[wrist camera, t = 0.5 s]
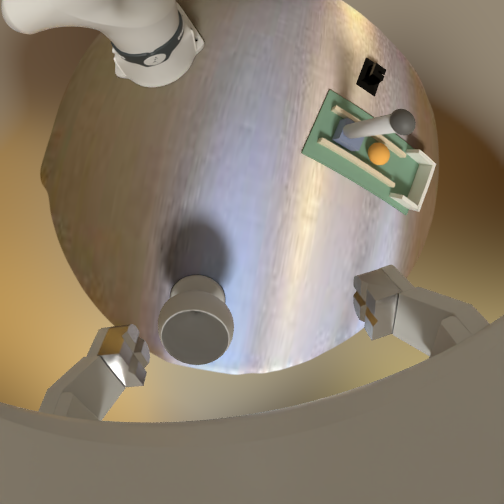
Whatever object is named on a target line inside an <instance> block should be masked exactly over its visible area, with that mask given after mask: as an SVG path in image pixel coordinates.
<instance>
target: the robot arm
mask: <svg viewBox="0 0 504 504" xmlns="http://www.w3.org/2000/svg"><path fill="white" fill-rule="evenodd" d="M1 7H2V8H1V9H2V15H3V18H4V20H5V22H6V23H7V24H8V25H9V26H10V27H11V28H12V29H13V30H15V31H17V32H21V33H25V34H33V33H37V32H40V31H43V30H46V29H50V28H56V27H64V26H77V27H78V26H79V27H87V28H92V29H96V30H99V31H101V32H102V33H103V34H105V35H106V36H107V37H108V38H109V39H110V40H111V44H112V46H113V48H112V51H113V53H115V57H114V61H115V73H116V75H117V76H118V77H121V78H128V79H130V80H132V81H134V82H135V83H137V84H139V85H141V86H145V87H159V86H163V85H167V84H169V83H171V82H173V81H175V80H177V79H178V78H180V77H181V76H182V75H183V74H184V73H185V72H186V71H187V70H188V69H189V67H190V66H191V64H192V61H193V59H194V57H195V55H196V54H197V53H198V52H199V51H200V50H201V49H202V48H203V47H204V41H203V40H202V38H201V36H200V35H199V33H198V32H197V30H196V29H195V27H194V26H193V24H192V23H191V21H190V20H189V18H188V17H187V15H186V14H185V12H184V11H183V9H182V8H181V6H180V5H179V4H178V3H177V2H176V0H2V5H1ZM195 40H198V41H195ZM354 287H355V289H356V290H357V291H356V293H355V294H354V296H353V297H354V307H355V311H356V314H357V316H358V318H359V320H361V321H363V322H365V327H364V328H365V330H366V332H367V333H368V335H369V337H370V338H371V340H374V339H377V338H381V337H384V336H387V335H389V334H393V335H394V336H396V337H398V338H399V339H401V340H403V341H405V342H406V343H408V344H410V345H411V346H413V347H415V348H416V349H418V350H420V351H422V352H423V353H425V354H427V355H428V356H430V357H429V359H427V360H425V361H423V362H421V363H418V364H416V365H414V366H412V367H410V368H407V369H405V370H403V371H400V372H398V373H395V374H393V375H390V376H388V377H385V378H383V379H380V380H378V381H375V382H372V383H369V384H367V385H364V386H361V387H358V388H355V389H352V390H349V391H346V392H343V393H340V394H336V395H333V396H329V397H326V398H323V399H319V400H315V401H311V402H308V403H304V404H300V405H295V406H291V407H286V408H282V409H277V410H272V411H267V412H261V413H255V414H249V415H243V416H236V417H229V418H220V419H211V420H200V421H186V422H165V423H164V422H163V423H162V422H160V423H136V422H112V421H101V420H102V419H103V418H104V416H105V415H106V413H107V412H108V411H109V409H110V408H111V407H112V405H113V404H114V403H115V401H116V400H117V399H118V397H119V396H120V395H121V393H122V392H123V391H124V389H125V387H134V386H144V381H145V377H146V371H145V369H144V368H145V367H146V366H147V365H148V363H149V359H150V354H149V348H148V346H147V344H146V342H145V340H143V339H142V338H140V337H138V336H139V331H138V329H137V328H136V326H135V325H132V324H130V325H122V326H114V327H107V328H101V329H100V330H99V331H98V333H97V335H96V337H95V339H94V341H93V343H92V345H91V348H90V350H89V352H88V355H87V357H83V358H82V359H81V360H80V361H79V362H78V363H76V364H75V365H74V366H73V367H72V368H71V369H70V370H69V371H68V372H66V373H65V374H64V375H63V376H62V377H61V378H60V379H59V380H57V381H56V382H55V383H54V384H53V385H52V386H51V387H50V388H49V389H48V390H47V392H46V394H45V397H44V399H43V401H42V404H41V406H40V409H39V411H38V412H37V411H32V410H28V409H23V408H19V407H15V406H12V405H8V404H4V403H1V402H0V504H504V315H503V316H501V317H500V318H499V319H497V320H496V321H494V322H493V323H491V324H489V323H488V322H487V320H486V319H485V318H484V317H483V316H482V315H481V314H480V313H479V312H478V311H477V310H476V309H475V308H474V307H473V306H472V305H471V304H468V303H465V302H462V301H460V300H456V299H454V298H451V297H448V296H445V295H442V294H439V293H436V292H433V291H430V290H427V289H424V288H421V287H416V288H415V287H414V286H413V285H412V284H411V283H410V282H409V281H408V280H407V279H406V278H405V277H404V276H403V275H402V274H401V273H400V272H399V271H398V270H397V269H396V268H395V267H394V266H393V265H388V266H385V267H382V268H379V269H377V270H374V271H371V272H367V273H364V274H360V275H357V276H355V277H354Z"/></svg>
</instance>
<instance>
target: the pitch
mask: <svg viewBox="0 0 504 504" xmlns="http://www.w3.org/2000/svg"><path fill="white" fill-rule="evenodd" d="M336 105H337V106H338V107H340V108H342V109H343V110H345V111H347V112H348V113H350V114H351V115H353V116H354V117H356V118H358V119H359V120H361V121H363V120H367V119H372V118H373V117H372V116H370V115H369V114H367V113H366V112H364V111H363V110H361V109H360V108H358V107H357V106H355V105H354V104H352V103H351V102H349V101H348V100H346V99H344V98H343V97H341V96H340V95H338V94H336V93H335V92H333V91H331V90H329V91H328V94H327V96H326V98H325V101H324V103H323V105H322V107H321V110H320V112H319V114H318V116H317V119H316V121H315V123H314V125H313V128H312V130H311V132H310V134H309V137H308V139H307V141H306V143H305V146H304V148H303V150H302V152H301V153H302V154H304V155H306V156H308V157H310V158H312V159H314V160H316V161H318V162H319V163H321V164H323V165H325V166H327V167H329V168H330V169H332V170H334V171H336V172H338V173H339V174H341V175H343V176H345V177H346V178H348V179H350V180H351V181H353V182H355V183H356V184H358V185H360V186H361V187H363V188H365V189H366V190H368V191H370V192H371V193H373V194H374V195H376V196H377V197H379V198H381V199H382V200H384V201H385V202H387V203H388V204H390V205H391V206H393V207H394V208H396V209H397V210H399V211H400V212H402V213H403V214H405V215H407V213H408V210H409V209H407V208H405V207H404V206H402V205H401V204H400V203H398V202H397V201H395V200H394V199H392V198H391V197H389V195H390V192H391V193H396V194H400V195H404V196H405V197H408V194H409V192H410V189H411V187H412V184H413V181H414V178H415V176H416V173H417V170H418V167H419V164H418V163H417V162H416V161H415V160H414V159H412V158H411V157H410V156H409V155H408V154H406V157H405V158H400V157H399V156H397V155H396V154H395V153H394V152H392V151H391V150H389V152H390V158H389V160H388V162H387V163H385V164H384V165H376V164H374V163H372V162H371V161H370V159H369V157H368V149H369V147H370V146H371V145H372V144H374V143H380V142H378V141H377V140H376V139H374V138H373V137H371V136H367V137H364V140H363V142H362V145H361V147H360V150H359V151H350V150H348V149H346V148H345V147H343V146H341V145H340V144H338V143H336V142H335V141H333V140H332V138H333V136H334V133H335V131H336V129H337V126H338V124H339V121H340V120H342V119H344V118H342V117H340V116H339V115H337V114H335V113H334V112H332V111H331V109H332V107H334V106H336ZM382 136H384V137H385V138H386V139H388V140H389V141H390V142H392V143H393V144H394V145H396V146H397V147H398V148H399V149H401V150H402V151H403V152H405V153H406V150H407V149H413V148H412V147H411V146H410V145H409V144H407V143H406V142H405V141H404V140H402V139H401V138H400V137H399V136H397V135H396V134H395V133H390V134H382ZM319 138H324V139H326V140H328V141H330V142H332V143H333V144H335V145H337V146H338V147H340V148H342V149H343V150H345V151H347V152H348V153H350V154H352V155H353V156H355V157H356V158H358V159H360V160H361V161H363V162H364V163H366V164H367V165H369V166H370V167H372V168H373V169H375V170H376V171H378V172H379V173H381V174H382V175H384V176H385V177H387V178H388V179H390V180H391V181H392V182H394V183H395V187H394V188H393V187H389V186H387V185H386V184H384V183H383V182H381V181H380V180H378V179H377V178H375V177H374V176H372V175H371V174H369V173H368V172H366V171H365V170H363V169H361V168H360V167H358V166H357V165H355V164H353V163H352V162H350V161H348V160H347V159H345V158H343V157H342V156H340V155H338V154H337V153H335V152H333V151H331V150H330V149H328V148H326V147H324V146H323V145H321V144H319V143H317V142H318V139H319Z"/></svg>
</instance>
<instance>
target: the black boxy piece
mask: <svg viewBox="0 0 504 504" xmlns="http://www.w3.org/2000/svg"><path fill="white" fill-rule="evenodd" d="M385 72H386V69H384V68H383V67H381V66H380V65H379V64H377V63H374V62H372V61H371V60H369V59H368V58H366V59H365V62H364V64H363V67H362V70H361V72H360V75H359V78H358V80H357V83H356V84H357V85H358V86H360V87H361V88H363V89H364V90H366V91H367V92H369V93H370V94H372V95H373V96H375V94H376V91H377V88H378V85H379V83H380V82H381V81H383V78H384V76H383V75H385ZM382 74H383V75H382Z"/></svg>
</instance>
